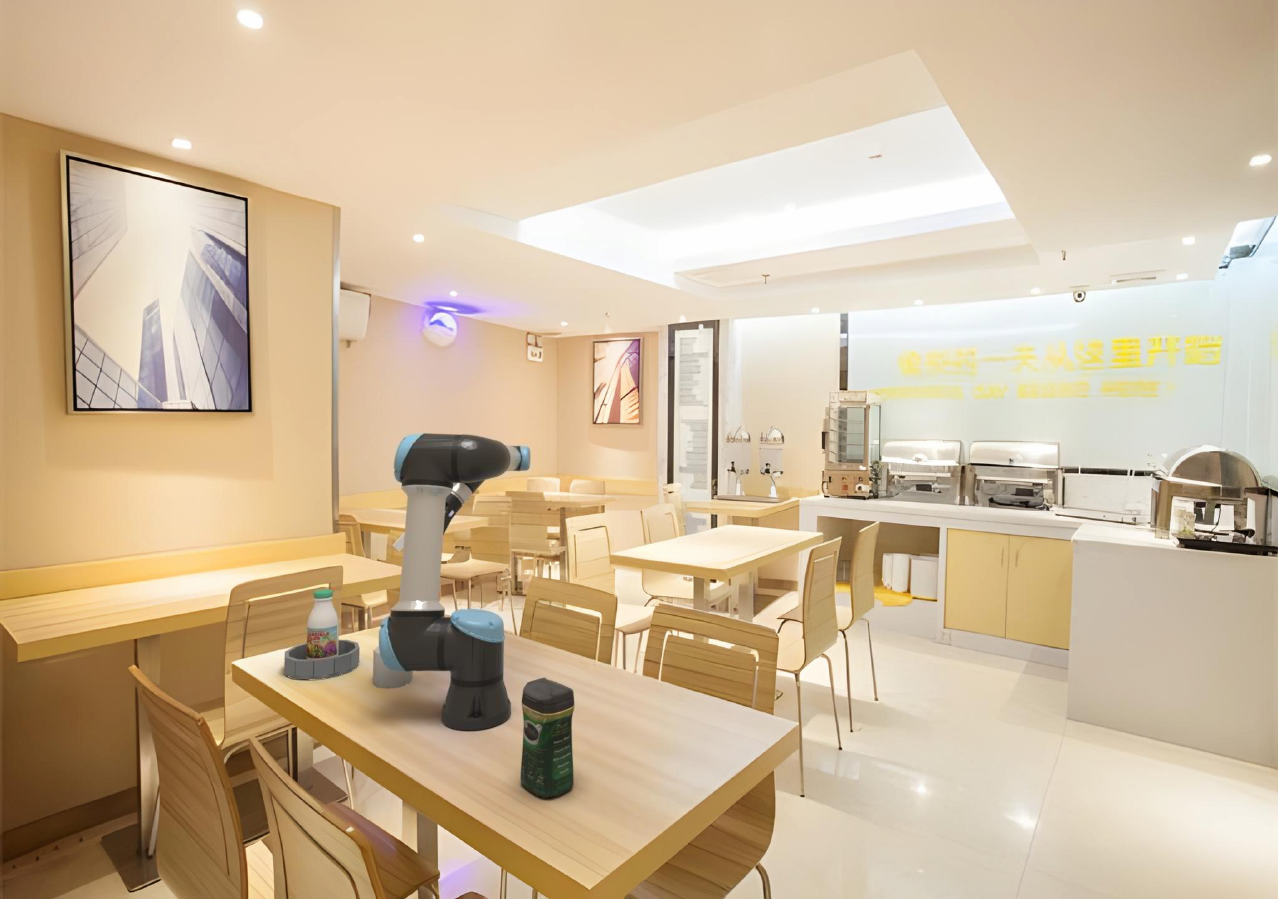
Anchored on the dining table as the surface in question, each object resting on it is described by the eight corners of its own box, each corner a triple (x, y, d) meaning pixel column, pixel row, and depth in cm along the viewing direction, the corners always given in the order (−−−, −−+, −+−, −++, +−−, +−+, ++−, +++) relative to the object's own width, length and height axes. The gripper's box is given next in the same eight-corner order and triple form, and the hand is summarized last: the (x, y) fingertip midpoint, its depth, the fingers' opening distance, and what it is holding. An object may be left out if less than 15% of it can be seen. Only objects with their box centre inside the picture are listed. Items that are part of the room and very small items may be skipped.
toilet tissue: (399, 668, 174) (400, 637, 174) (417, 683, 164) (417, 649, 163) (364, 675, 168) (365, 643, 168) (380, 691, 158) (381, 656, 158)
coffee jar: (581, 787, 115) (582, 684, 115) (545, 804, 109) (547, 696, 109) (548, 768, 122) (549, 670, 122) (513, 783, 116) (514, 681, 116)
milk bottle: (309, 660, 176) (310, 588, 176) (340, 658, 178) (340, 586, 178) (303, 670, 168) (304, 594, 168) (336, 667, 171) (336, 593, 170)
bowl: (372, 665, 176) (372, 647, 176) (309, 685, 161) (310, 665, 161) (333, 653, 186) (333, 635, 185) (270, 671, 170) (270, 652, 170)
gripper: (481, 508, 188) (433, 565, 178) (443, 502, 206) (396, 554, 196) (465, 491, 185) (414, 548, 174) (427, 486, 203) (379, 538, 193)
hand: (405, 551), depth 185 cm, fingers open, 13 cm apart
